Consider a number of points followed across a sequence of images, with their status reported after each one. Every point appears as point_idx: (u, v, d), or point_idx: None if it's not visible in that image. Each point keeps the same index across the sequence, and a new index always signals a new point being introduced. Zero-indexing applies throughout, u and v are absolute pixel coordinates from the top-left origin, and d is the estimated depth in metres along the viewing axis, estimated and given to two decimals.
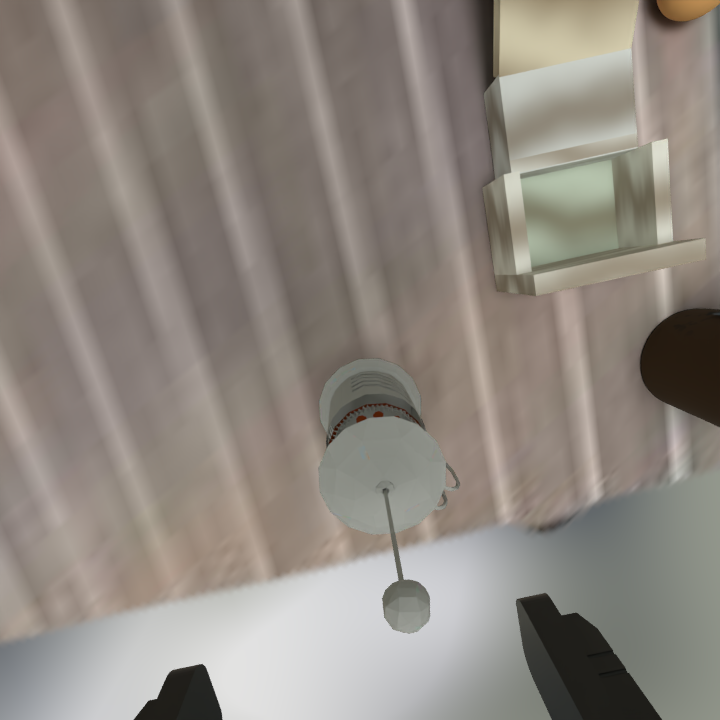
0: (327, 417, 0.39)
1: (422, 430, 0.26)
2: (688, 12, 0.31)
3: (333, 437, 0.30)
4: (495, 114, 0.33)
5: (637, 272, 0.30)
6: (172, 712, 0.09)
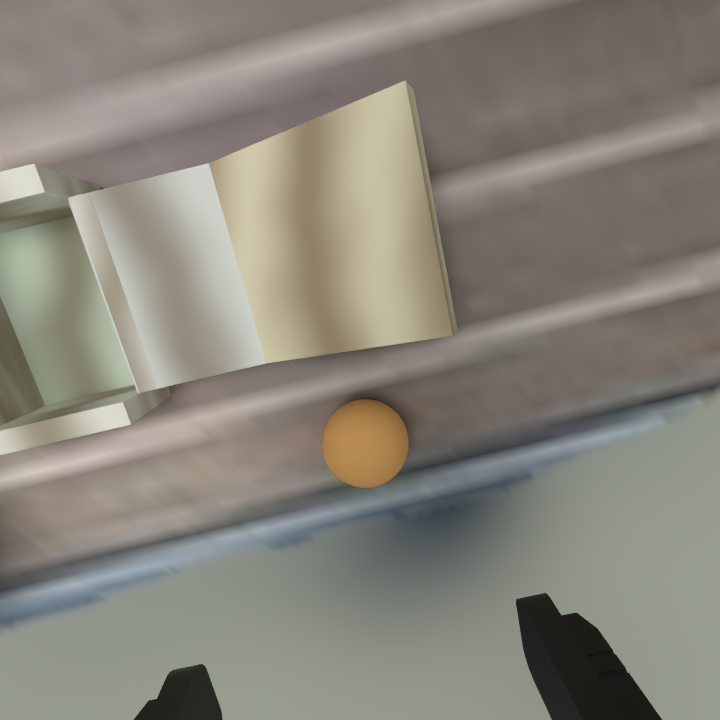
0: None
1: None
2: (322, 437, 0.24)
3: None
4: None
5: None
6: (172, 712, 0.09)
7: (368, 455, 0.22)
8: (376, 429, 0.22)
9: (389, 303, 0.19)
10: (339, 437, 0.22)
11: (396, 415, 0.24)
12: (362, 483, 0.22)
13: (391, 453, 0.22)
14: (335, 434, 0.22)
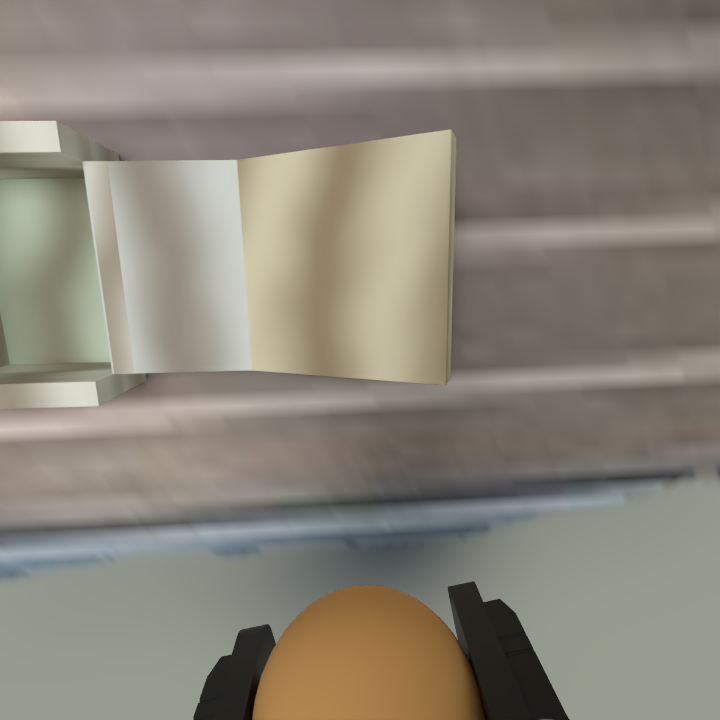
0: None
1: None
2: (253, 713, 0.09)
3: None
4: None
5: None
6: (249, 664, 0.10)
7: None
8: None
9: (389, 339, 0.18)
10: None
11: (456, 660, 0.09)
12: None
13: None
14: None
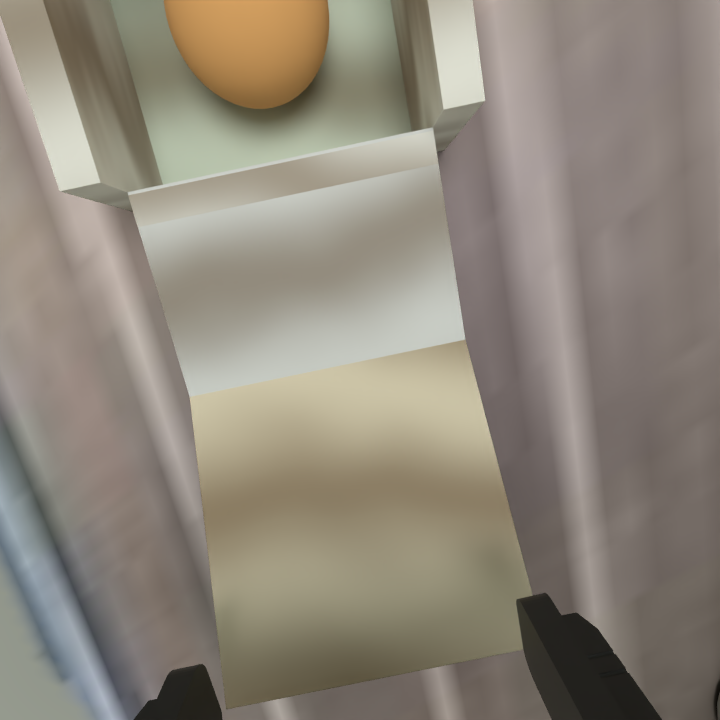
0: None
1: None
2: None
3: None
4: None
5: None
6: (172, 712, 0.09)
7: None
8: None
9: (272, 609, 0.13)
10: None
11: None
12: None
13: None
14: None
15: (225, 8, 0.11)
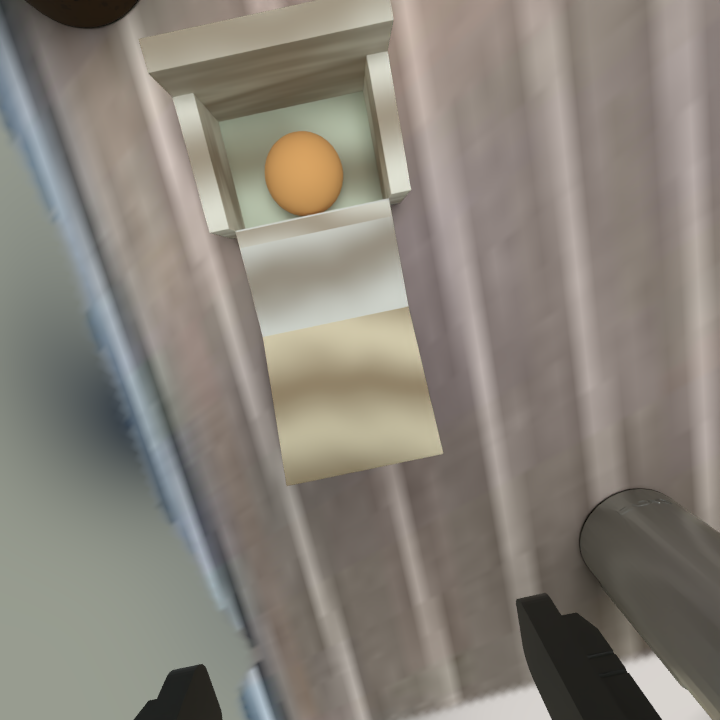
0: None
1: None
2: None
3: None
4: None
5: (239, 19, 0.20)
6: (172, 712, 0.09)
7: None
8: None
9: (308, 440, 0.27)
10: None
11: None
12: (286, 135, 0.26)
13: None
14: None
15: (304, 210, 0.26)
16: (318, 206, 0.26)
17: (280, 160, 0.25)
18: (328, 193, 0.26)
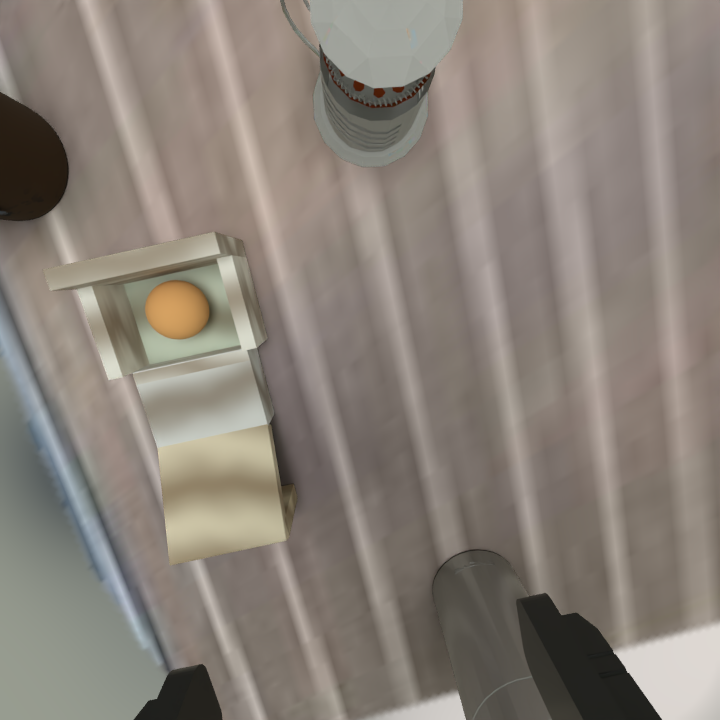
0: (420, 94, 0.35)
1: (341, 68, 0.22)
2: None
3: None
4: (264, 397, 0.38)
5: (112, 256, 0.29)
6: (172, 712, 0.09)
7: None
8: None
9: (187, 529, 0.36)
10: None
11: (208, 315, 0.37)
12: None
13: None
14: None
15: (166, 326, 0.34)
16: (176, 322, 0.34)
17: (151, 291, 0.34)
18: (184, 312, 0.34)
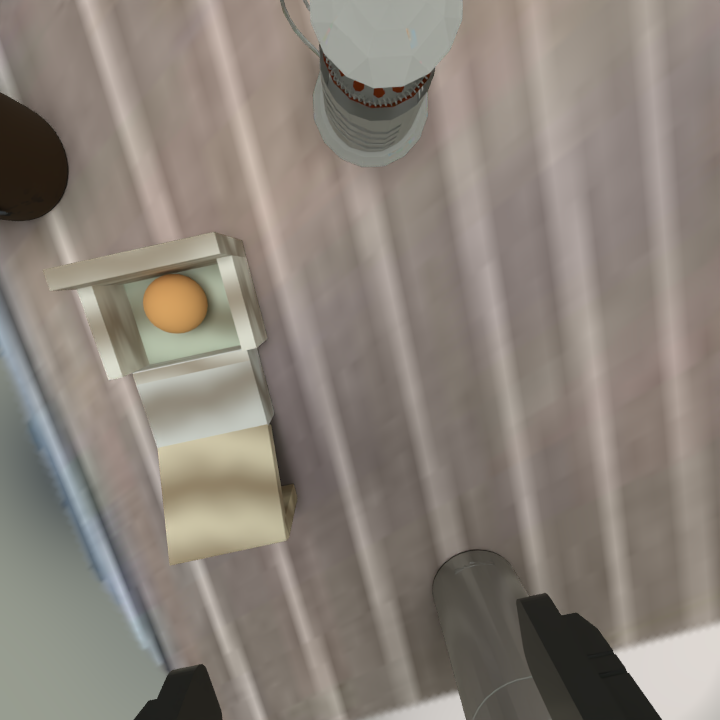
0: (420, 94, 0.35)
1: (341, 68, 0.22)
2: None
3: None
4: (264, 397, 0.38)
5: (111, 256, 0.29)
6: (172, 712, 0.09)
7: None
8: None
9: (187, 530, 0.36)
10: None
11: (206, 312, 0.36)
12: None
13: None
14: None
15: (161, 314, 0.33)
16: (171, 310, 0.33)
17: None
18: (181, 300, 0.33)
